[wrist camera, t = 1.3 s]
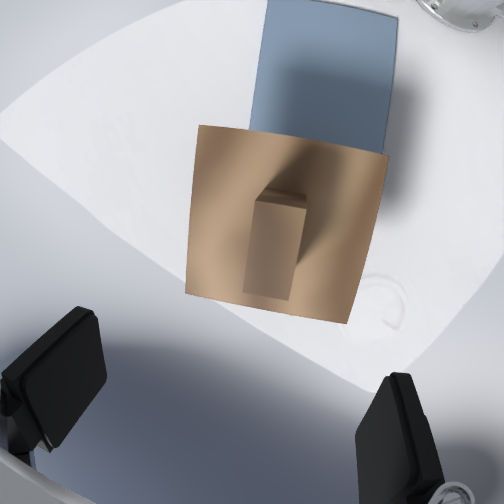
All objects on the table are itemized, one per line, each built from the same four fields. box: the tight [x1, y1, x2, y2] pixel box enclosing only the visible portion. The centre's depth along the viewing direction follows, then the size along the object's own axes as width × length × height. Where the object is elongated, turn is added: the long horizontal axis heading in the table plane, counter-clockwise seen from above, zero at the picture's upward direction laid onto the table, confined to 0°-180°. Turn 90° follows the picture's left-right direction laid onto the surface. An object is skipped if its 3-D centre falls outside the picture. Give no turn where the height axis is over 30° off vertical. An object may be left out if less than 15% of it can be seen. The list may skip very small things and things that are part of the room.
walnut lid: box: [185, 125, 389, 324], centre depth 22 cm, size 14×14×6 cm
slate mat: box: [249, 0, 397, 154], centre depth 28 cm, size 14×16×1 cm
